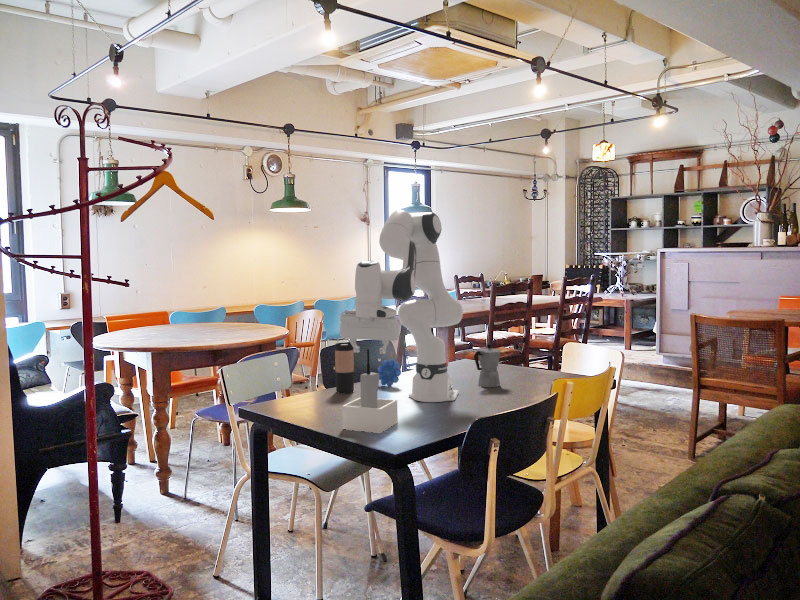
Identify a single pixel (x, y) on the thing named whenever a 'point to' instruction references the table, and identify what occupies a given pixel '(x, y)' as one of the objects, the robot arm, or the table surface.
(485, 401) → the table surface
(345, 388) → the travel mug
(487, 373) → the coffeepot
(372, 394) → the vintage mobile phone
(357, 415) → the bin
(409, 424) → the table surface
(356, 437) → the table surface
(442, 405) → the table surface
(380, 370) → the grapes
